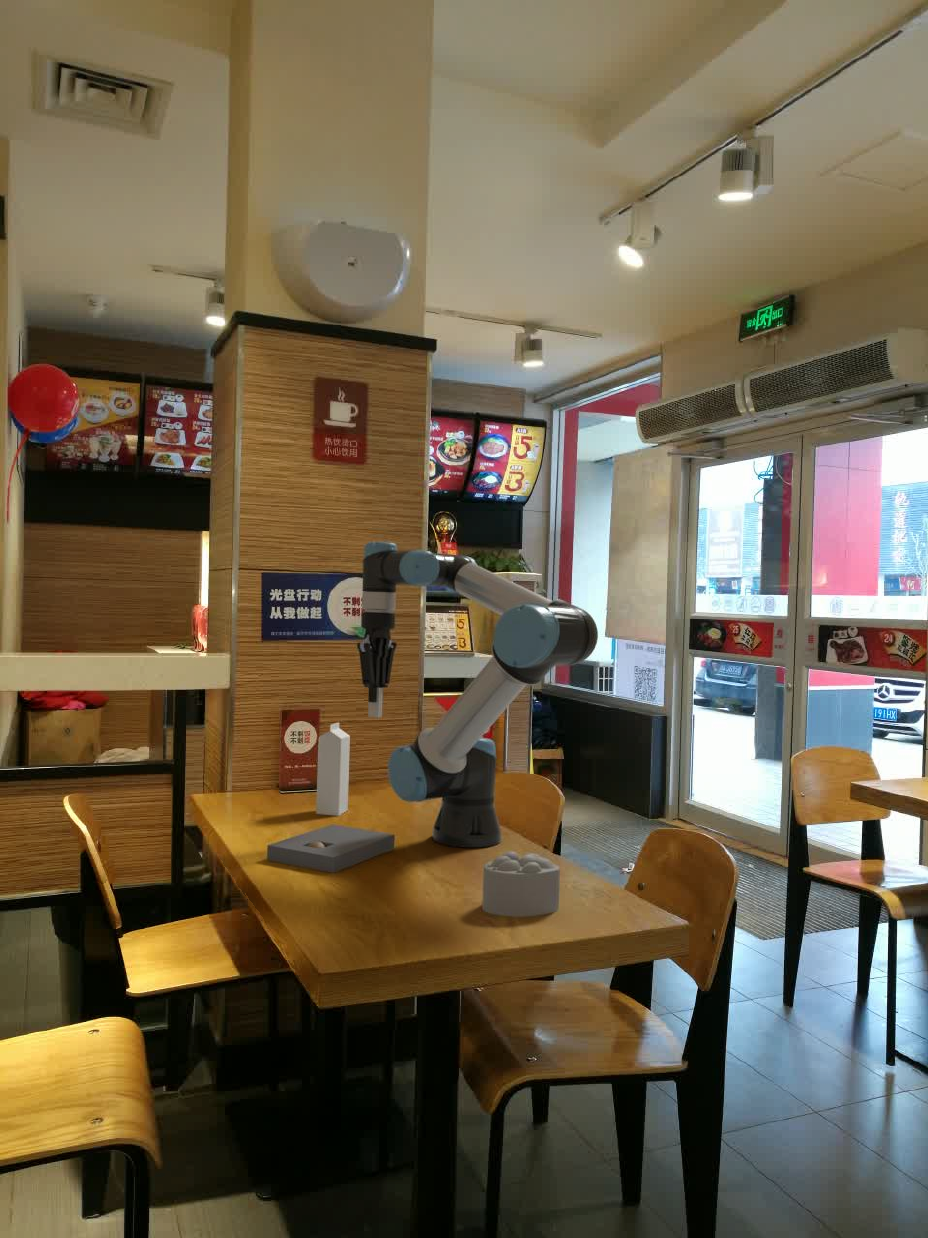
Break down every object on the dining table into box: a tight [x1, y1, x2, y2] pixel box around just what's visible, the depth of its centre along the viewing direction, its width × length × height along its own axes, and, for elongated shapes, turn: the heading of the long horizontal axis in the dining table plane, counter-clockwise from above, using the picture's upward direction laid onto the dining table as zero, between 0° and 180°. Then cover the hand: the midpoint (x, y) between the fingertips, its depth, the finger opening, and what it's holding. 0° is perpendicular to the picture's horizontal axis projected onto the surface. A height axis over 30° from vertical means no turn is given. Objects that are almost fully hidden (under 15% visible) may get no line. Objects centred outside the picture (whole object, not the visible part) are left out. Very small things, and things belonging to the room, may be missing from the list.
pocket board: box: [266, 824, 396, 874], centre depth 191 cm, size 16×22×3 cm
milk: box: [315, 722, 351, 817], centre depth 230 cm, size 6×6×22 cm
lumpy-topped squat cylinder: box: [481, 850, 561, 918], centre depth 161 cm, size 10×13×9 cm
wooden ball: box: [308, 841, 325, 849], centre depth 187 cm, size 4×4×4 cm
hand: (375, 716), depth 209 cm, fingers closed
